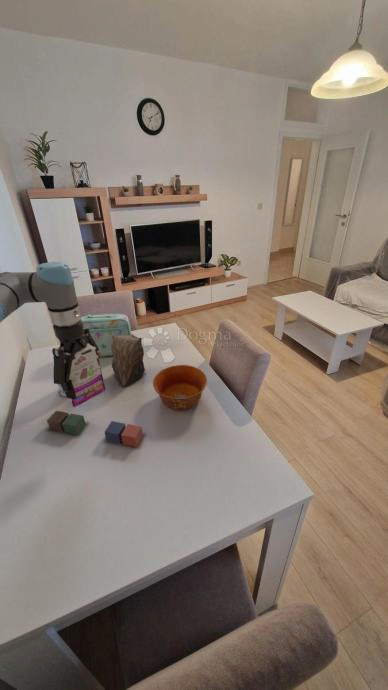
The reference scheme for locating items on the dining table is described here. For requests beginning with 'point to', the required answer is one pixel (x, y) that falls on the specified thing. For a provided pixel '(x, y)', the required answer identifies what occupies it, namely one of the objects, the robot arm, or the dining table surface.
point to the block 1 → (57, 421)
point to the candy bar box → (85, 375)
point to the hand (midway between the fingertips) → (83, 385)
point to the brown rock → (127, 358)
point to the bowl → (180, 385)
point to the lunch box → (106, 330)
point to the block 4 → (132, 435)
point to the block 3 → (114, 432)
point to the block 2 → (73, 424)
